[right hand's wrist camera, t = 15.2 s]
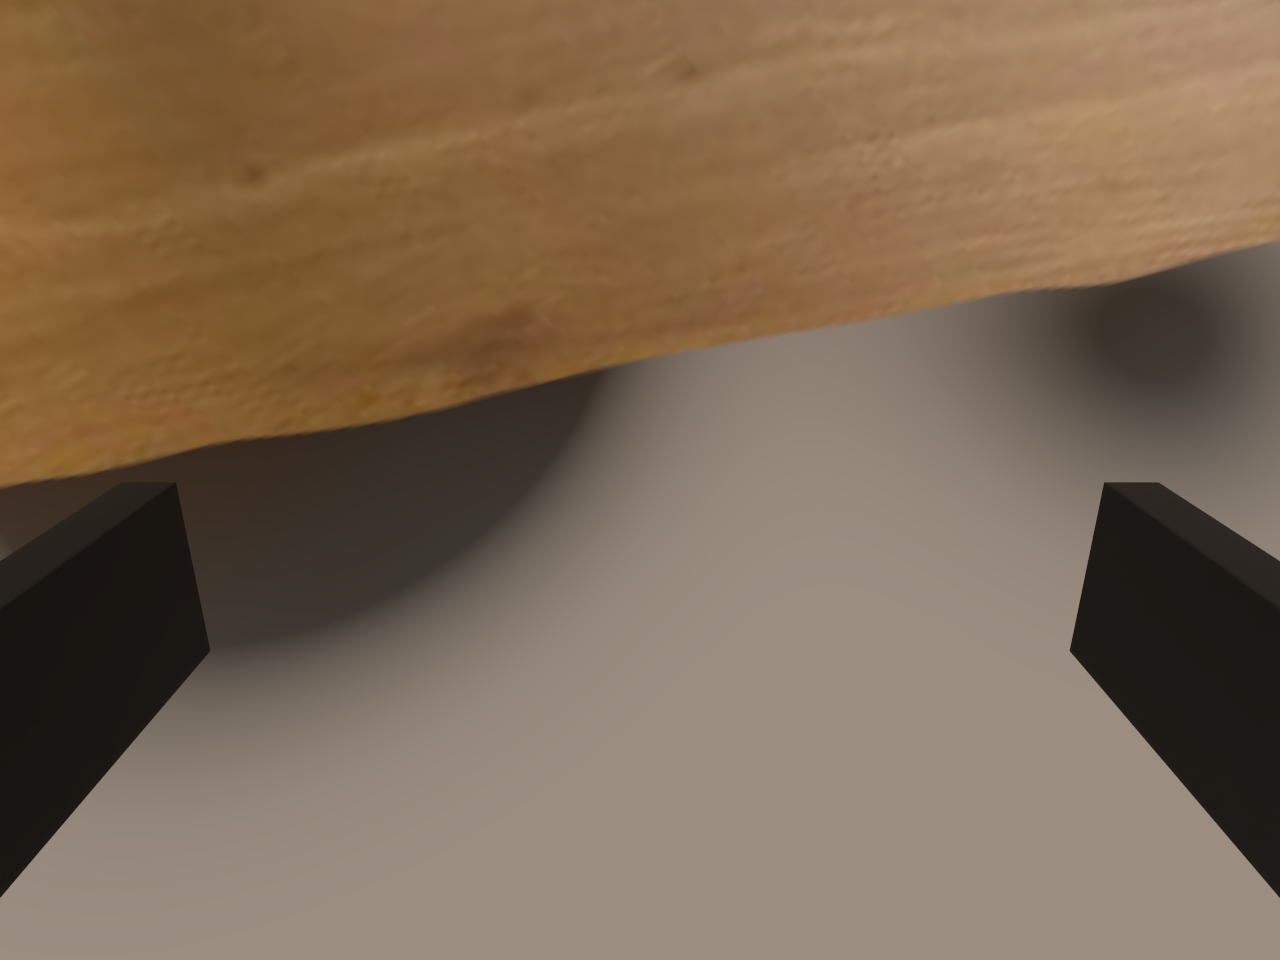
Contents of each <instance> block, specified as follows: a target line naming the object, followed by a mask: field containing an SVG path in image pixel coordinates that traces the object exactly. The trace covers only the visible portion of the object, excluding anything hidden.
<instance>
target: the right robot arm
mask: <svg viewBox="0 0 1280 960" xmlns="http://www.w3.org/2000/svg"><path fill="white" fill-rule="evenodd" d="M209 652H210V647H209V643H208V638H207V633H206V628H205V623H204V618H203V614H202V608H201V604H200V599H199V594H198V589H197V584H196V579H195V574H194V570H193V565H192V560H191V555H190V550H189V545H188V540H187V535H186V530H185V525H184V521H183V516H182V511H181V506H180V501H179V496H178V491H177V486H176V483H120V484H119V485H117V486H115V487H114V488H112V489H111V490H109V491H108V492H106V493H105V494H103V495H102V496H100V497H98V498H97V499H95V500H94V501H92V502H91V503H89V504H88V505H86V506H85V507H83V508H82V509H80V510H78V511H77V512H75V513H74V514H72V515H71V516H69V517H68V518H66V519H65V520H63V521H62V522H60V523H58V524H57V525H55V526H54V527H52V528H51V529H49V530H48V531H46V532H45V533H43V534H42V535H40V536H38V537H37V538H35V539H34V540H32V541H31V542H29V543H28V544H26V545H24V546H23V547H21V548H20V549H18V550H17V551H15V552H14V553H12V554H11V555H9V556H8V557H6V558H4V559H3V560H1V561H0V897H1V896H2V895H3V894H4V893H5V891H6V890H7V889H8V888H9V887H10V885H11V884H12V883H13V882H14V881H15V880H16V878H17V877H18V876H19V875H20V874H21V873H22V871H23V870H24V869H25V868H26V867H27V866H28V864H29V863H30V862H31V861H32V860H33V859H34V857H35V856H36V855H37V854H38V853H39V851H40V850H41V849H42V848H43V847H44V845H45V844H46V843H47V842H48V841H49V840H50V839H51V837H52V836H53V835H54V834H55V833H56V831H57V830H58V829H59V828H60V827H61V826H62V824H63V823H64V822H65V821H66V820H67V819H68V817H69V816H70V815H71V814H72V813H73V811H74V810H75V809H76V808H77V807H78V806H79V804H80V803H81V802H82V801H83V800H84V799H85V797H86V796H87V795H88V794H89V793H90V791H91V790H92V789H93V788H94V787H95V786H96V784H97V783H98V782H99V781H100V780H101V779H102V777H103V776H104V775H105V774H106V773H107V772H108V770H109V769H110V768H111V767H112V766H113V765H114V763H115V762H116V761H117V760H118V759H119V757H120V756H121V755H122V754H123V753H124V752H125V750H126V749H127V748H128V747H129V746H130V745H131V743H132V742H133V741H134V740H135V739H136V738H137V736H138V735H139V734H140V733H141V732H142V730H143V729H144V728H145V727H146V726H147V725H148V723H149V722H150V721H151V720H152V719H153V718H154V716H155V715H156V714H157V713H158V712H159V710H160V709H161V708H162V707H163V706H164V705H165V703H166V702H167V701H168V700H169V699H170V698H171V696H172V695H173V694H174V693H175V692H176V690H177V689H178V688H179V687H180V686H181V685H182V683H183V682H184V681H185V680H186V679H187V678H188V676H189V675H190V674H191V673H192V672H193V671H194V669H195V668H196V667H197V666H198V665H199V663H200V662H201V661H202V660H203V659H204V658H205V656H206V655H207V654H208V653H209ZM1070 652H1071V653H1072V654H1073V655H1074V656H1075V658H1076V659H1077V660H1078V661H1079V662H1080V663H1081V665H1082V666H1083V667H1084V668H1085V669H1086V670H1087V672H1088V673H1089V674H1090V675H1091V676H1092V678H1093V679H1094V680H1095V681H1096V682H1097V683H1098V685H1099V686H1100V687H1101V688H1102V689H1103V691H1104V692H1105V693H1106V694H1107V695H1108V696H1109V698H1110V699H1111V700H1112V701H1113V702H1114V703H1115V705H1116V706H1117V707H1118V708H1119V709H1120V710H1121V712H1122V713H1123V714H1124V715H1125V716H1126V717H1127V719H1128V720H1129V721H1130V722H1131V723H1132V725H1133V726H1134V727H1135V728H1136V729H1137V730H1138V732H1139V733H1140V734H1141V735H1142V736H1143V738H1144V739H1145V740H1146V741H1147V742H1148V743H1149V745H1150V746H1151V747H1152V748H1153V749H1154V750H1155V752H1156V753H1157V754H1158V755H1159V756H1160V757H1161V759H1162V760H1163V761H1164V762H1165V763H1166V765H1167V766H1168V767H1169V768H1170V769H1171V770H1172V771H1173V773H1174V774H1175V775H1176V776H1177V777H1178V779H1179V780H1180V781H1181V782H1182V783H1183V784H1184V786H1185V787H1186V788H1187V789H1188V790H1189V792H1190V793H1191V794H1192V795H1193V796H1194V797H1195V799H1196V800H1197V801H1198V802H1199V803H1200V804H1201V806H1202V807H1203V808H1204V809H1205V810H1206V811H1207V813H1208V814H1209V815H1210V816H1211V817H1212V819H1213V820H1214V821H1215V822H1216V823H1217V824H1218V826H1219V827H1220V828H1221V829H1222V830H1223V832H1224V833H1225V834H1226V835H1227V836H1228V837H1229V839H1230V840H1231V841H1232V842H1233V843H1234V844H1235V846H1236V847H1237V848H1238V849H1239V850H1240V851H1241V853H1242V854H1243V855H1244V856H1245V857H1246V858H1247V860H1248V861H1249V862H1250V863H1251V864H1252V866H1253V867H1254V868H1255V869H1256V870H1257V871H1258V873H1259V874H1260V875H1261V876H1262V877H1263V879H1264V880H1265V881H1266V882H1267V883H1268V884H1269V886H1270V887H1271V888H1272V889H1273V890H1274V891H1275V893H1276V894H1277V895H1278V896H1279V897H1280V561H1279V560H1277V559H1276V558H1274V557H1272V556H1271V555H1269V554H1268V553H1266V552H1265V551H1263V550H1262V549H1260V548H1259V547H1257V546H1255V545H1254V544H1252V543H1251V542H1249V541H1248V540H1246V539H1245V538H1243V537H1242V536H1240V535H1239V534H1237V533H1235V532H1234V531H1232V530H1231V529H1229V528H1228V527H1226V526H1225V525H1223V524H1222V523H1220V522H1219V521H1217V520H1215V519H1214V518H1212V517H1211V516H1209V515H1208V514H1206V513H1205V512H1203V511H1201V510H1200V509H1199V508H1197V507H1195V506H1194V505H1192V504H1191V503H1189V502H1188V501H1186V500H1185V499H1183V498H1182V497H1180V496H1178V495H1177V494H1175V493H1174V492H1172V491H1171V490H1169V489H1168V488H1166V487H1165V486H1163V485H1162V484H1160V483H1104V486H1103V491H1102V496H1101V501H1100V506H1099V511H1098V516H1097V521H1096V525H1095V530H1094V535H1093V540H1092V545H1091V550H1090V555H1089V560H1088V565H1087V569H1086V574H1085V579H1084V584H1083V589H1082V594H1081V599H1080V603H1079V609H1078V613H1077V618H1076V623H1075V628H1074V633H1073V638H1072V643H1071V647H1070Z"/></svg>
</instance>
